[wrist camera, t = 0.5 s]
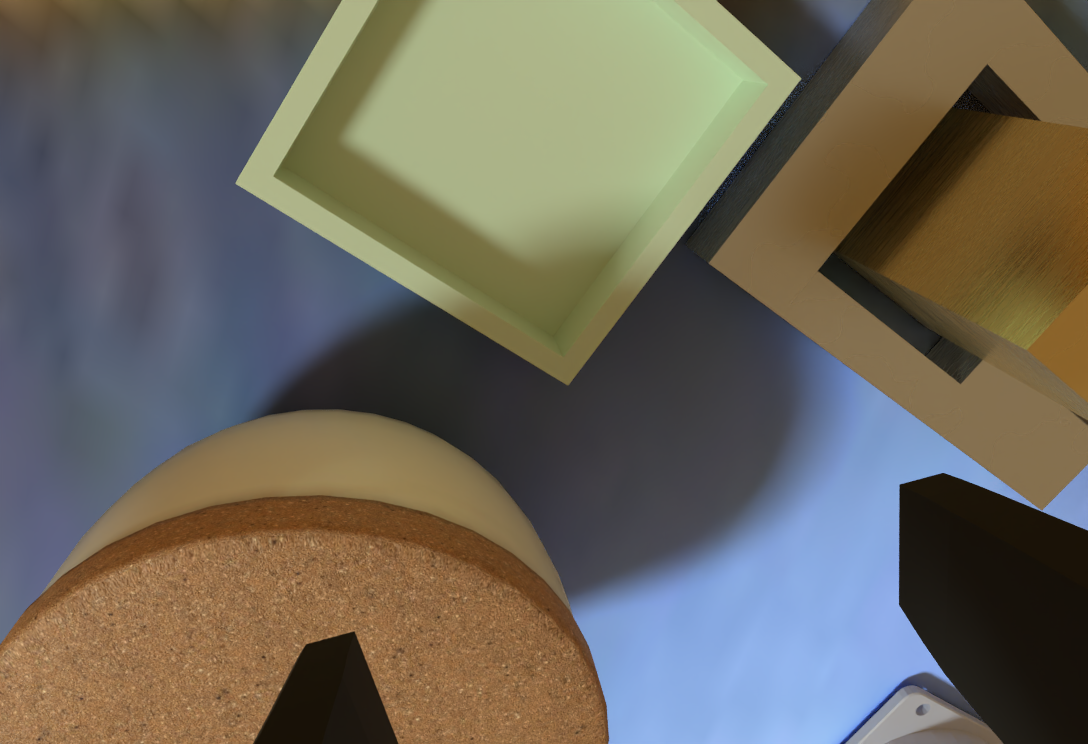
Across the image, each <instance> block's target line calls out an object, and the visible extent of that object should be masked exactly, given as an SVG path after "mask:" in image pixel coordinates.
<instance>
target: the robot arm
mask: <svg viewBox="0 0 1088 744" xmlns="http://www.w3.org/2000/svg"><path fill="white" fill-rule="evenodd" d="M899 605H900V607H901V609H902V610H903V612H904V613H905V615H906V616H907V618H908V619H909V621H910V623H911V624H912V626H913V627H914V629H915V630H916V632H917V634H918V635H919V637H920V638H921V640H922V641H923V643H924V644H925V646H926V647H927V649H928V650H929V652H930V653H931V655H932V656H933V658H934V659H935V660H936V662H937V663H938V665H939V666H940V668H941V669H942V671H943V672H944V674H945V675H946V676H947V677H948V678H949V680H950V681H951V682H952V683H953V685H954V686H955V687H956V688H957V689H958V691H959V692H960V693H961V694H962V695H963V697H964V698H965V699H966V700H967V701H968V703H969V704H970V705H971V706H972V707H973V708H974V710H975V711H976V712H977V713H978V714H979V716H980V717H981V718H982V719H983V720H984V721H985V723H984V722H982V721H980V720H979V719H977V718H975V717H973V716H971V715H969V714H968V713H966V712H964V711H962V710H960V709H958V708H956V707H955V706H953V705H951V704H949V703H947V702H945V701H944V700H942V699H940V698H938V697H936V696H934V695H932V694H931V693H929V692H927V691H925V690H923V689H921V688H920V687H918V686H914V685H910V686H906V687H903V688H901V689H900V690H899V691H898V692H897V693H896V694H895V695H894V696H893V697H892V698H891V699H890V700H889V701H888V702H887V703H886V704H884V705H883V706H882V707H881V708H880V709H879V710H878V711H877V712H876V713H875V714H874V715H873V716H872V717H871V718H870V719H869V720H868V721H867V722H866V723H865V724H864V725H863V726H862V727H861V728H860V729H859V730H858V731H857V732H856V733H855V734H854V735H853V736H852V737H851V738H850V739H849V740H848V741H847V742H846V743H845V744H1088V530H1085V529H1083V528H1080V527H1078V526H1075V525H1073V524H1070V523H1068V522H1065V521H1063V520H1061V519H1058V518H1056V517H1053V516H1051V515H1048V514H1046V513H1044V512H1041V511H1039V510H1036V509H1034V508H1031V507H1029V506H1027V505H1024V504H1022V503H1019V502H1017V501H1015V500H1012V499H1010V498H1007V497H1005V496H1002V495H1000V494H997V493H995V492H992V491H990V490H988V489H985V488H983V487H980V486H977V485H975V484H972V483H970V482H967V481H964V480H962V479H959V478H956V477H953V476H951V475H948V474H945V473H941V474H938V475H934V476H930V477H926V478H923V479H919V480H915V481H912V482H908V483H904V484H900V512H899ZM253 744H398V741H397V739H396V736H395V733H394V731H393V728H392V726H391V723H390V721H389V718H388V716H387V713H386V710H385V708H384V705H383V703H382V700H381V698H380V695H379V692H378V690H377V687H376V685H375V682H374V680H373V677H372V675H371V672H370V669H369V667H368V664H367V662H366V659H365V657H364V654H363V651H362V649H361V646H360V644H359V641H358V639H357V636H356V634H355V631H353V632H350V633H346V634H342V635H339V636H335V637H331V638H327V639H324V640H320V641H316V642H312V643H309V644H306V645H305V647H304V648H303V650H302V651H301V653H300V654H299V656H298V658H297V660H296V662H295V664H294V666H293V668H292V670H291V672H290V674H289V676H288V678H287V679H286V681H285V683H284V685H283V687H282V689H281V691H280V693H279V695H278V697H277V699H276V701H275V703H274V705H273V707H272V709H271V711H270V712H269V714H268V716H267V718H266V720H265V722H264V724H263V726H262V728H261V729H260V731H259V733H258V735H257V737H256V739H255V741H254V743H253Z"/></svg>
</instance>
